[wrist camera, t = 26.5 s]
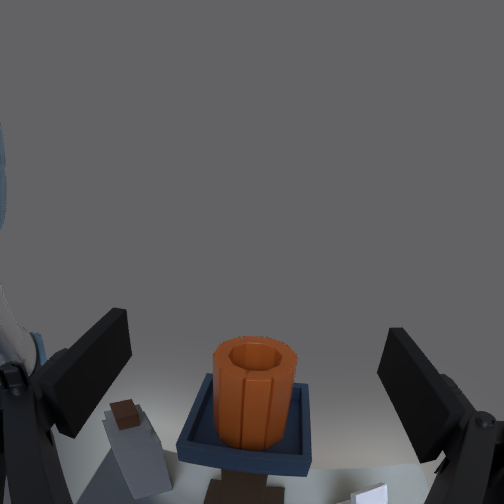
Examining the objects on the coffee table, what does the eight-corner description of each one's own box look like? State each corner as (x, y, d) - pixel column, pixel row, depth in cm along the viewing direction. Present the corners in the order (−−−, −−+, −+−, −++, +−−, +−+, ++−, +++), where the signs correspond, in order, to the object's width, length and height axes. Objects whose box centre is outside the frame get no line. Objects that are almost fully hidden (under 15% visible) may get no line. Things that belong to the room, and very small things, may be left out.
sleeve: (262, 462, 22) (272, 392, 20) (200, 429, 26) (196, 358, 24) (297, 420, 28) (310, 350, 26) (240, 396, 32) (243, 328, 30)
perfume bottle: (172, 489, 36) (156, 419, 32) (134, 499, 32) (105, 431, 28) (156, 462, 41) (139, 388, 37) (121, 470, 37) (94, 397, 33)
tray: (194, 537, 27) (172, 445, 21) (211, 481, 39) (205, 371, 33) (279, 548, 26) (314, 463, 20) (284, 490, 37) (309, 382, 32)
